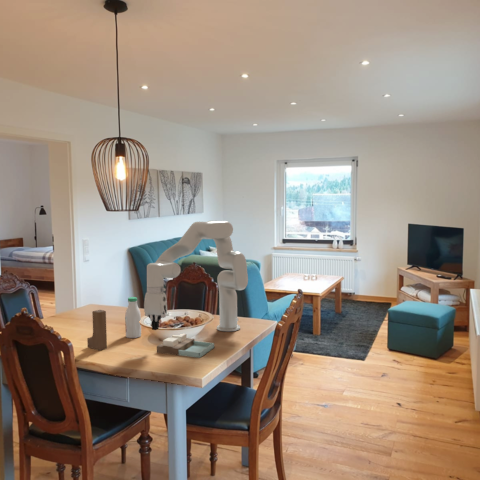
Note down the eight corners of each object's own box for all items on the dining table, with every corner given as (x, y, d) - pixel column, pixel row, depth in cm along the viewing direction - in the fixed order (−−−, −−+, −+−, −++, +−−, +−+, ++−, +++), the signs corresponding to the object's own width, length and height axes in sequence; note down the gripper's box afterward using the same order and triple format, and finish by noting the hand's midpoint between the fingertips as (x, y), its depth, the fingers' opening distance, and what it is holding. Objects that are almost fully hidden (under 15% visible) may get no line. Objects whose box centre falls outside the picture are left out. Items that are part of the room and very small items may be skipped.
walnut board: (174, 342, 223) (174, 336, 222) (194, 345, 219) (194, 338, 218) (156, 352, 208) (156, 346, 208) (178, 355, 204) (177, 348, 204)
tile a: (177, 337, 220) (177, 332, 220) (186, 338, 218) (186, 333, 218) (172, 340, 216) (171, 335, 215) (181, 341, 214) (181, 336, 213)
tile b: (168, 342, 213) (168, 337, 213) (178, 343, 211) (178, 338, 211) (163, 345, 208) (163, 340, 208) (172, 346, 206) (172, 341, 206)
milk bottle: (144, 335, 235) (143, 297, 234) (133, 339, 228) (132, 299, 227) (133, 333, 239) (132, 295, 237) (122, 337, 232) (121, 298, 231)
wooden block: (87, 347, 216) (86, 309, 215) (95, 345, 220) (94, 308, 218) (99, 350, 211) (98, 312, 209) (107, 348, 214) (106, 310, 213)
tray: (194, 345, 218) (194, 340, 218) (214, 347, 214) (214, 343, 214) (178, 355, 204) (178, 350, 204) (199, 357, 200) (199, 353, 200)
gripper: (173, 289, 211) (173, 329, 212) (145, 287, 216) (146, 325, 218) (165, 292, 204) (165, 333, 205) (136, 290, 209) (136, 329, 211)
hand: (155, 329), depth 211 cm, fingers closed
